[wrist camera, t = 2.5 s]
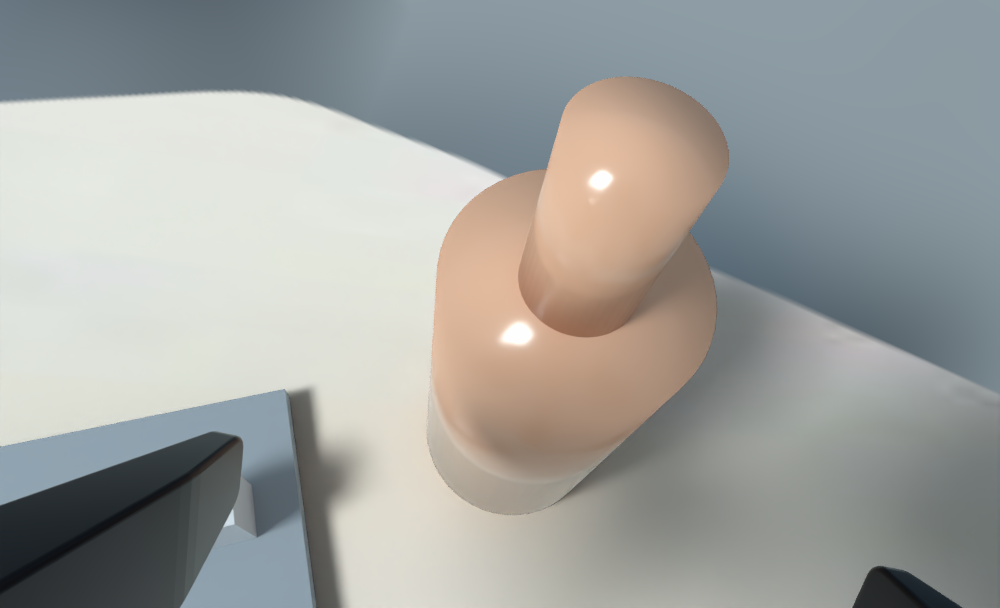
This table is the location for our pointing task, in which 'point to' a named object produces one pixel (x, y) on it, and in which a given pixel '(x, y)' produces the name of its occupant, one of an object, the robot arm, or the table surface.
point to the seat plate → (253, 520)
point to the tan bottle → (574, 297)
